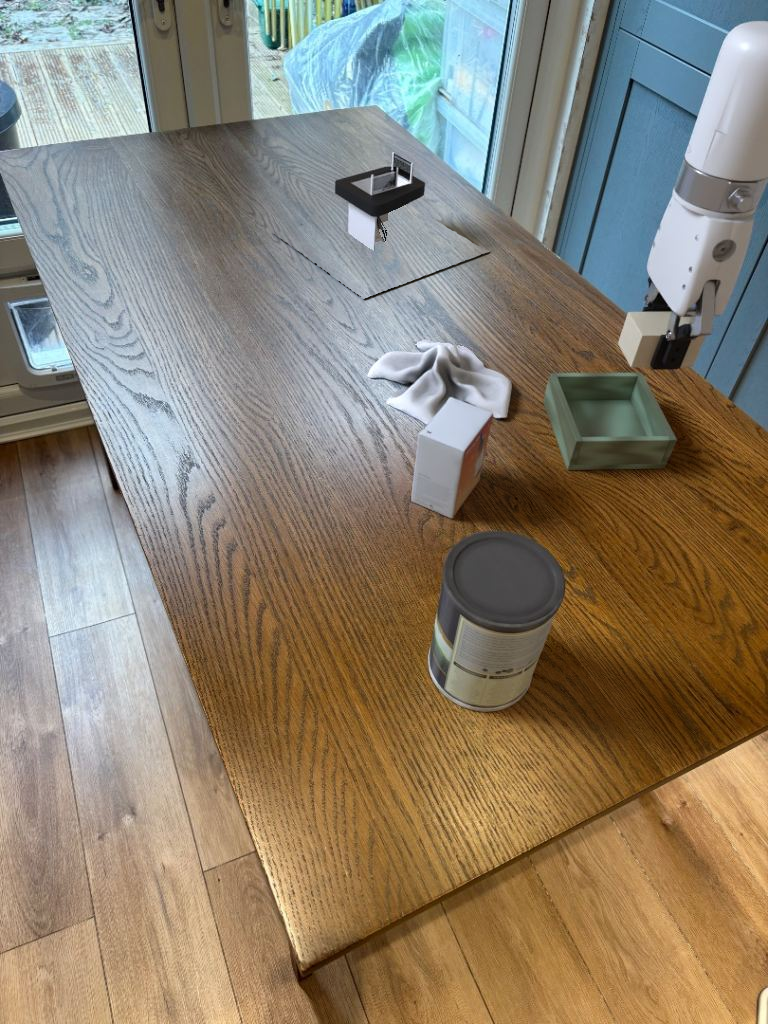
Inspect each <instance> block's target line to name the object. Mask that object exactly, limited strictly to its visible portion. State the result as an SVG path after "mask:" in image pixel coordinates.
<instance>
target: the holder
mask: <svg viewBox="0 0 768 1024" xmlns="http://www.w3.org/2000/svg"><path fill="white" fill-rule="evenodd" d="M542 404H543V406H544V409H545V412H546V415H547V417H548V419H549V420H548V421H549V423H550V426H551V429H552V431H553V434H554V437H555V440H556V442H557V445H558V448H559V451H560V454H561V457H562V459H563V462H564V465H565V468H566V470H567V471H588V470H589V471H590V470H591V471H593V470H594V471H595V470H597V471H598V470H649V469H650V470H652V469H665V467H666V465H667V463H668V461H669V459H670V457H671V454H672V452H673V451H674V448H675V446H676V444H677V441H678V439H677V437H676V435H675V433H674V431H673V430H672V427H671V425H670V424H669V422H668V420H667V418H666V416H665V414H664V412H663V410H662V408H661V406H660V404H659V403H658V400H657V399H656V397H655V395H654V393H653V391H652V389H651V387H650V385H649V383H648V382H647V379H646V378H645V376H644V374H643V372H550V373H549V377H548V379H547V384H546V388H545V392H544V395H543V400H542Z"/></svg>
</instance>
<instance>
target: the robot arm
mask: <svg viewBox="0 0 768 1024" xmlns="http://www.w3.org/2000/svg"><path fill="white" fill-rule="evenodd" d="M767 184H768V21H767V20H753V21H747V22H743V23H740V24H738V25H736V26H735V27H733V28H732V29H731V30H730V31H729V32H728V33H727V34H726V36H725V38H724V39H723V41H722V45H721V46H720V50H719V52H718V54H717V57H716V61H715V64H714V67H713V70H712V72H711V75H710V78H709V82H708V85H707V87H706V91H705V94H704V97H703V99H702V103H701V106H700V108H699V111H698V114H697V118H696V121H695V123H694V127H693V129H692V132H691V135H690V139H689V142H688V144H687V148H686V151H685V153H684V156H683V159H682V163H681V166H680V168H679V171H678V173H677V177H676V179H675V183H674V187H673V189H672V192H671V193H672V195H671V198H670V200H669V202H668V203H667V206H666V209H665V211H664V214H663V216H662V219H661V221H660V224H659V226H658V229H657V232H656V234H655V236H654V239H653V242H652V245H651V248H650V252H649V255H648V258H647V259H648V260H647V264H646V270H647V273H648V278H647V282H648V289H647V290H646V293H645V294H644V297H643V304H644V306H643V307H642V310H641V312H671V315H670V319H669V323H668V327H667V331H666V335H661V337H660V340H659V342H658V345H657V348H656V350H655V353H654V356H653V358H652V361H651V364H650V366H651V367H650V368H651V369H652V370H653V371H660V370H661V371H665V370H667V371H668V370H670V371H671V370H679V369H680V368H682V367H681V365H682V362H683V360H684V357H685V355H686V353H687V350H688V348H689V345H690V343H691V340H695V339H696V338H697V337H699V336H706V337H707V336H712V334H713V331H714V317H721V316H722V315H723V314H724V312H725V310H726V309H727V306H728V305H729V301H730V299H731V297H732V294H733V291H734V289H735V287H736V285H737V281H738V279H739V276H740V273H741V270H742V268H743V264H744V261H745V259H746V254H747V253H748V247H749V245H750V242H751V241H750V240H751V236H752V233H753V228H754V223H755V217H754V216H753V214H754V213H755V212H756V210H757V208H758V205H759V203H760V201H761V198H762V196H763V194H764V191H765V190H766V186H767ZM693 306H694V307H693ZM681 317H691V318H690V322H689V324H683V325H681V326H679V323H680V319H681Z"/></svg>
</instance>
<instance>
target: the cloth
mask: <svg viewBox="0 0 768 1024" xmlns="http://www.w3.org/2000/svg"><path fill="white" fill-rule="evenodd" d="M415 345H417V347H416V348H417V349H419V350H421V352H419V351H416V352H415V351H414V352H412V351H400V350H396V351H395V350H394V351H388V352H386V353H384V354H383V355H382V356H381V357H380V358H379V359H378V360H376V362H375V363H373V365H371V367H370V369H369V370H368V373H367V378H370V379H377V378H384V379H387V380H389V381H394V382H397V383H399V384H403V385H405V384H410V383H412V384H411V385H410V386H408V387H403V388H400V389H398V390H397V391H395V392H392V393H391V394H390V395H389V397H387V399H386V402H385V404H386V405H388V406H391V407H392V408H395V409H397V410H399V411H401V412H402V413H405V414H407V415H409V416H410V417H413V418H415V419H417V420H418V421H420V422H421V423H423V424H425V426H426V425H427V424H428V423H429V422H430V421H431V420H432V419H433V417H434V416H435V415H436V414H437V413H438V412H439V410H440V409H441V408H442V407H443V405H444V404H445V403H446V402H447V400H448V399H449V398H450V397H452V398H455V399H457V400H460V401H463V402H465V403H468V404H470V405H473V406H476V407H478V408H481V409H483V410H486V411H488V412H491V413H493V418H495V419H503V418H504V419H505V418H508V413H509V407H510V401H511V396H512V395H511V394H512V390H513V385H512V381H511V379H510V378H508V377H506V376H505V375H504V374H502V373H500V372H498V371H496V370H494V369H491V368H488V367H485V365H484V363H483V362H482V361H481V360H480V359H479V358H478V356H476V354H475V353H474V352H473V351H472V350H470V349H469V348H468V347H466V346H465V347H464V345H463V346H460V345H458V346H459V347H460V348H459V347H458V346H457V347H456V346H454V345H452V344H450V343H440V342H436V343H435V342H433V341H430V340H426V339H425V340H422V341H419V342H417V344H415Z"/></svg>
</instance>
